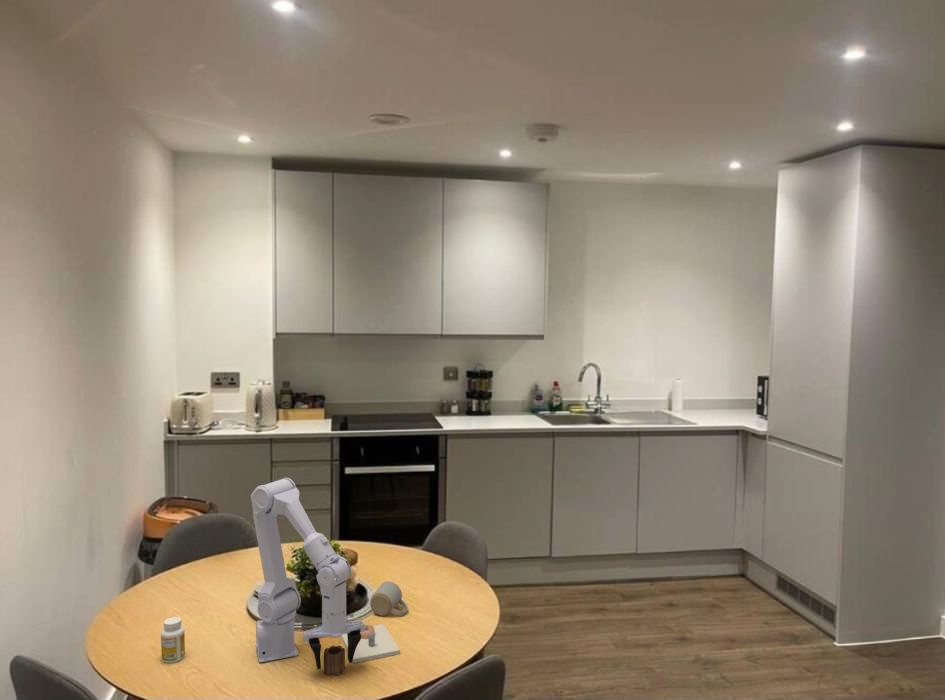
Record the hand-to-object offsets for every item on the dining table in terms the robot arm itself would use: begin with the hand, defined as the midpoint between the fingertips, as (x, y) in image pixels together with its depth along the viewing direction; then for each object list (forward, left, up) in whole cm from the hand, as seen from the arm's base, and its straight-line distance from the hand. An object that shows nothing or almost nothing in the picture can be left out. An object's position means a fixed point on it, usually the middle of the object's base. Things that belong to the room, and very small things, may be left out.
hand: (334, 664), depth 167 cm
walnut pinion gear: (0, 0, -2) cm, 2 cm away
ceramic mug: (+22, +26, -2) cm, 34 cm away
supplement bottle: (-36, +21, -2) cm, 42 cm away
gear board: (+11, +9, -2) cm, 14 cm away
